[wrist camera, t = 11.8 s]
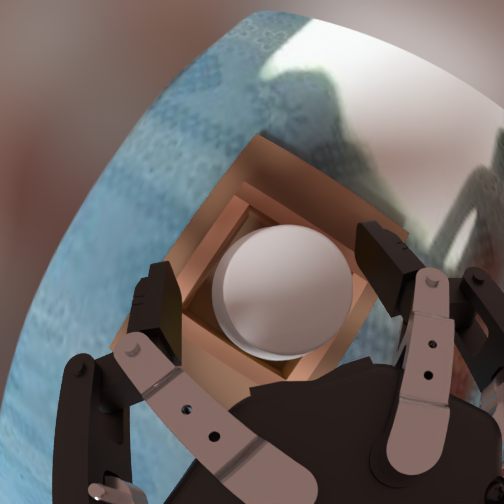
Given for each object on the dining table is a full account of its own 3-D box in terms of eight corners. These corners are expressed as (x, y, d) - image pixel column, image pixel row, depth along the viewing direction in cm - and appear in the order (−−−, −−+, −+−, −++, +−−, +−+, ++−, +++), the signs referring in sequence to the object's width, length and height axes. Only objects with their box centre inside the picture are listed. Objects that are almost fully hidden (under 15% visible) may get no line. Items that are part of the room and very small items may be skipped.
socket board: (256, 141, 21) (257, 113, 17) (401, 236, 20) (427, 224, 16) (116, 345, 18) (91, 353, 15) (270, 445, 17) (274, 471, 14)
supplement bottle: (309, 339, 18) (370, 376, 8) (223, 338, 18) (196, 378, 8) (311, 254, 18) (371, 208, 9) (226, 251, 18) (204, 200, 9)
